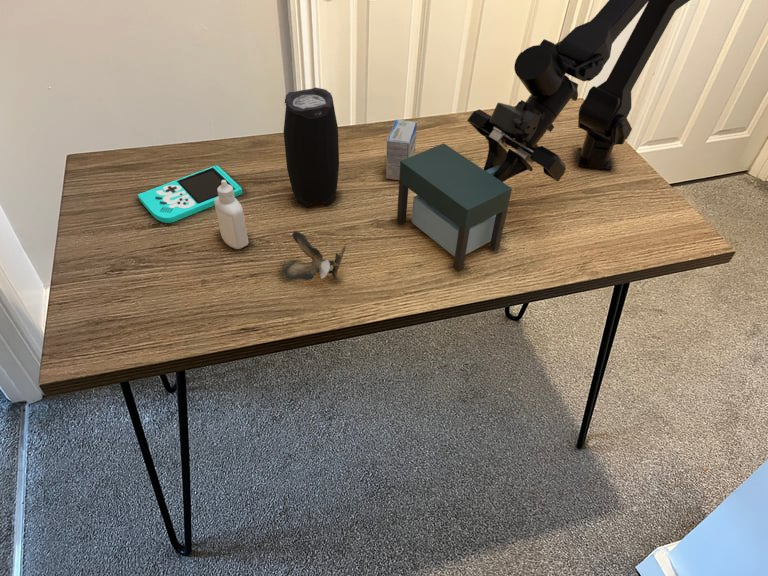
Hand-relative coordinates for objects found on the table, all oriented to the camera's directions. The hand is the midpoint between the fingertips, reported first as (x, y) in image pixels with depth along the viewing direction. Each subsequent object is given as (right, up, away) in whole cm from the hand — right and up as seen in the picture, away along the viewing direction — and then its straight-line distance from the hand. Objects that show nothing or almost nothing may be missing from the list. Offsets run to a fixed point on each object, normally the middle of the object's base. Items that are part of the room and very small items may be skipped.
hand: (484, 185), depth 102 cm
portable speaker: (-30, -1, +8) cm, 31 cm away
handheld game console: (-52, -1, +7) cm, 53 cm away
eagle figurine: (-29, -15, -6) cm, 33 cm away
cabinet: (-6, -8, +2) cm, 11 cm away
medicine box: (-14, +6, +15) cm, 22 cm away
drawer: (-3, -6, +3) cm, 8 cm away
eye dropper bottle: (-42, -10, -1) cm, 44 cm away
